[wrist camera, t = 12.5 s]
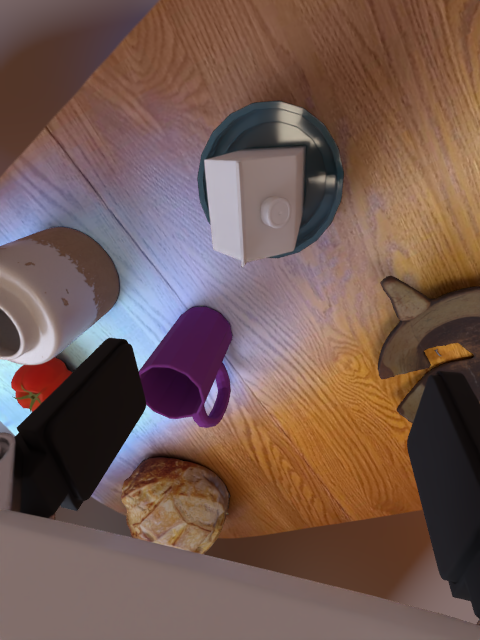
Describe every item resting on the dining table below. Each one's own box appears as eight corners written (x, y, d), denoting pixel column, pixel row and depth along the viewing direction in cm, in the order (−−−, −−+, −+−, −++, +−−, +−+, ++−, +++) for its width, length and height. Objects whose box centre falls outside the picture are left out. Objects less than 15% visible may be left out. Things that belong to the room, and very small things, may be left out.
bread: (164, 514, 89) (141, 580, 77) (112, 454, 75) (75, 523, 63) (249, 516, 81) (238, 591, 69) (209, 450, 67) (187, 528, 55)
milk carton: (246, 212, 41) (198, 266, 25) (243, 148, 37) (184, 164, 21) (303, 211, 39) (290, 268, 24) (306, 145, 36) (293, 159, 20)
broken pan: (401, 426, 54) (412, 466, 47) (339, 268, 43) (342, 294, 36) (574, 398, 45) (616, 443, 38) (552, 189, 34) (606, 204, 27)
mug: (218, 297, 49) (182, 356, 36) (257, 375, 55) (238, 449, 42) (169, 313, 52) (120, 372, 40) (211, 385, 58) (180, 456, 46)
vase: (16, 256, 53) (-94, 302, 39) (70, 206, 47) (-39, 240, 32) (81, 327, 58) (4, 391, 44) (139, 291, 51) (70, 353, 37)
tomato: (81, 397, 68) (53, 430, 61) (34, 373, 68) (-1, 403, 60) (90, 365, 63) (60, 396, 55) (38, 338, 62) (1, 366, 55)
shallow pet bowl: (207, 110, 37) (189, 107, 32) (347, 99, 34) (351, 94, 29) (219, 242, 44) (205, 256, 39) (334, 243, 41) (335, 259, 36)
